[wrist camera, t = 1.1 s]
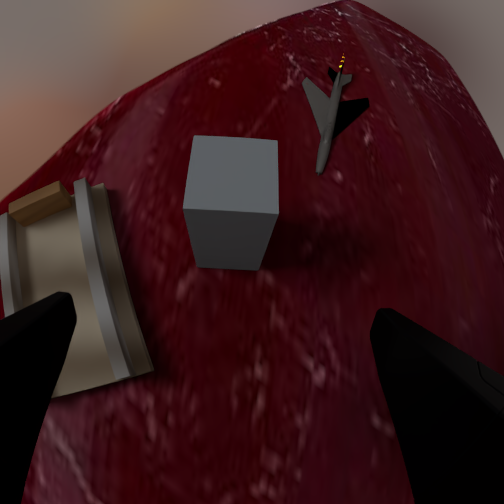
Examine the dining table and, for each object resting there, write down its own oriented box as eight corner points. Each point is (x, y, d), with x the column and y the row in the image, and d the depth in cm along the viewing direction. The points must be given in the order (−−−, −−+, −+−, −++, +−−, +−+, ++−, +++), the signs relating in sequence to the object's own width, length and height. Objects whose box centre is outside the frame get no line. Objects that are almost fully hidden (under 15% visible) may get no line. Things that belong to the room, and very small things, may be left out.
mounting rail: (154, 370, 20) (142, 371, 17) (31, 403, 18) (6, 405, 15) (106, 189, 24) (93, 165, 21) (4, 232, 22) (-17, 216, 19)
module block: (258, 270, 23) (278, 214, 15) (197, 267, 23) (183, 208, 14) (259, 212, 25) (277, 136, 16) (202, 208, 24) (194, 131, 16)
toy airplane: (273, 165, 27) (277, 149, 25) (314, 48, 34) (317, 34, 32) (357, 193, 27) (367, 179, 25) (370, 67, 34) (376, 54, 32)
